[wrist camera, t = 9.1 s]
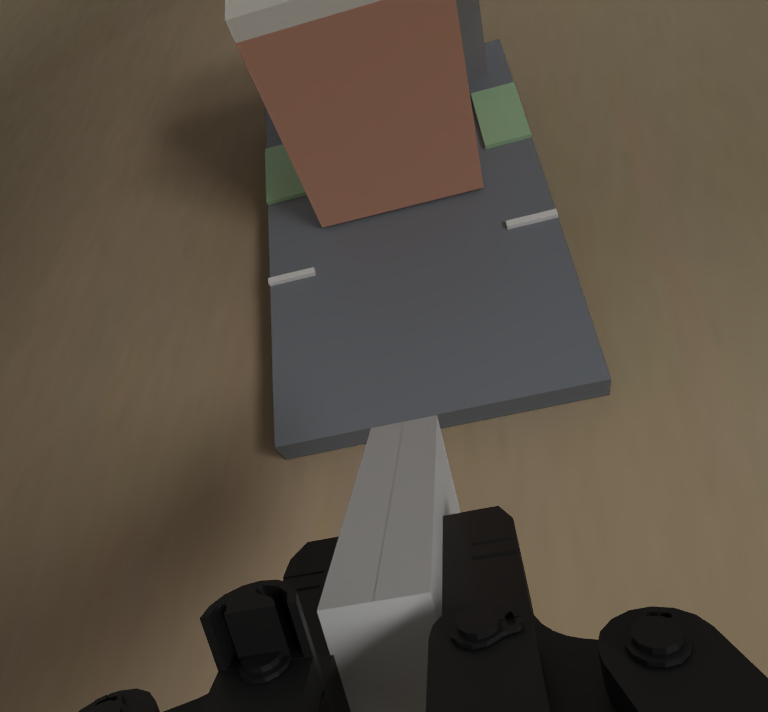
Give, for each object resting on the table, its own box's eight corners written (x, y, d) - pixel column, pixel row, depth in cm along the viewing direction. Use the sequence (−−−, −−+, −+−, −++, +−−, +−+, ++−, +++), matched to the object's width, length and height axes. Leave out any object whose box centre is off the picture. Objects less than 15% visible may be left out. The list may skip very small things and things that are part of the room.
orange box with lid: (463, 108, 31) (424, -128, 22) (483, 187, 28) (448, -47, 20) (315, 147, 32) (226, -65, 23) (322, 227, 29) (225, 20, 21)
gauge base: (501, 60, 34) (487, -91, 28) (609, 394, 24) (623, 273, 18) (273, 122, 35) (213, -7, 29) (285, 459, 25) (198, 369, 19)
